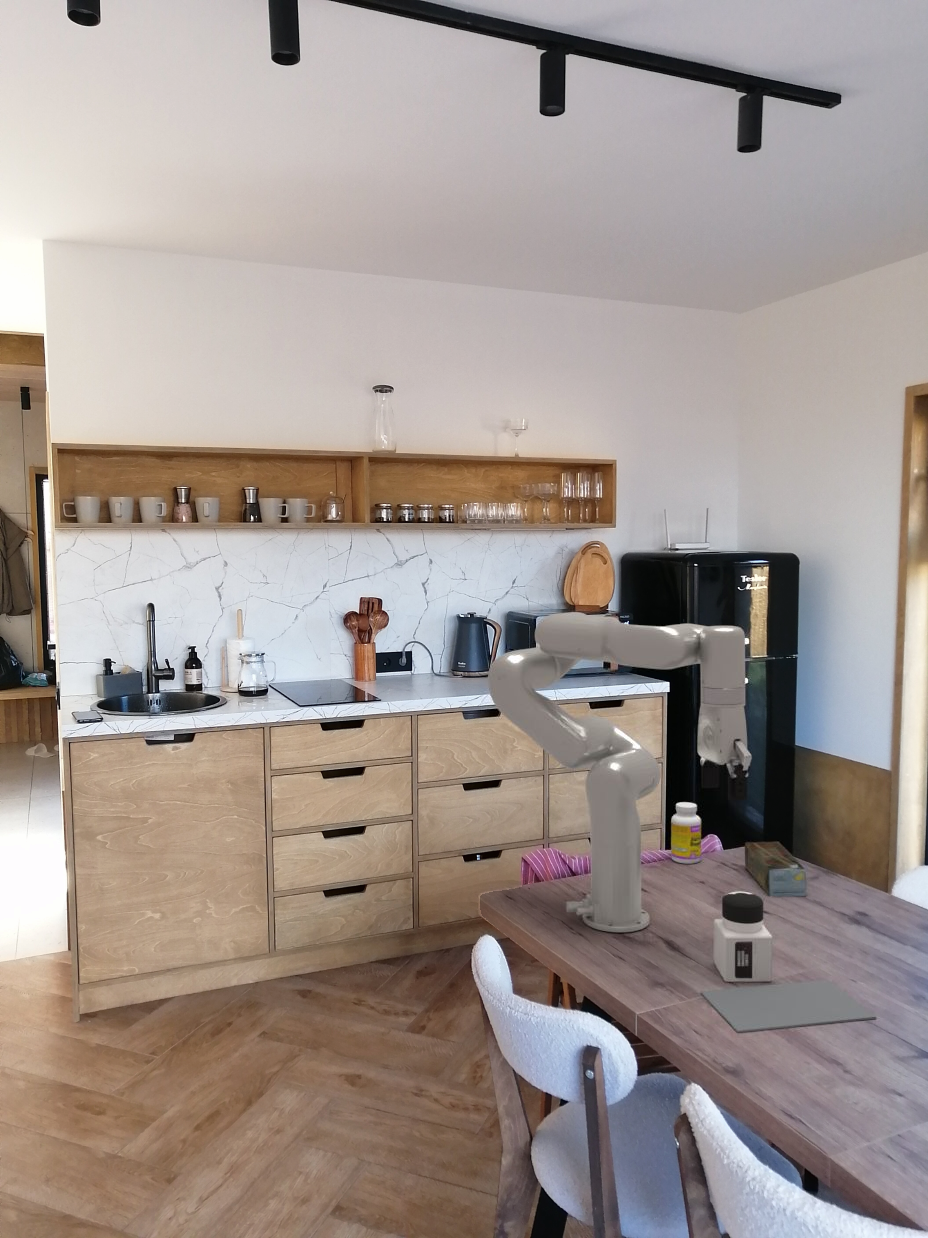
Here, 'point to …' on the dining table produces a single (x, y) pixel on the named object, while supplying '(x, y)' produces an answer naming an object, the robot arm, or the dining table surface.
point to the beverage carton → (775, 869)
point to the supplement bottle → (686, 834)
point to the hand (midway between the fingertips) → (723, 793)
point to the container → (742, 940)
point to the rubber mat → (785, 1005)
